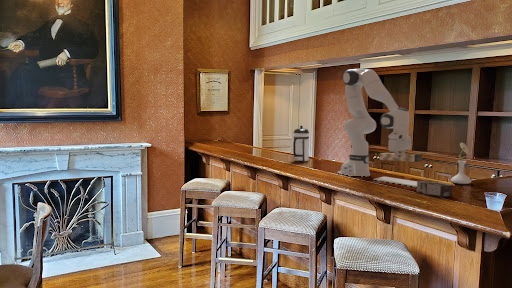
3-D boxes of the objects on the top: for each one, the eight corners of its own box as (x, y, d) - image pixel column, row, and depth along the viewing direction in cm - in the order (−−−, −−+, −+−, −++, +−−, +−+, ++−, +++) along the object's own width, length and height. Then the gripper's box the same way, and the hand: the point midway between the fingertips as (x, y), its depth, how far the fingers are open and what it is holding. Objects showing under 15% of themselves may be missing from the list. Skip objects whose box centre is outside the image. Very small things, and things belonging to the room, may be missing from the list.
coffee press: (289, 160, 349) (289, 125, 346) (307, 159, 351) (308, 124, 347) (293, 163, 332) (293, 126, 329) (312, 163, 334) (313, 126, 330)
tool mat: (373, 180, 262) (373, 178, 262) (384, 177, 270) (384, 176, 270) (418, 187, 239) (418, 186, 239) (428, 184, 247) (428, 183, 247)
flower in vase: (472, 186, 243) (474, 144, 241) (451, 184, 247) (453, 143, 244) (469, 181, 256) (471, 141, 253) (449, 180, 259) (451, 141, 257)
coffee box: (416, 192, 229) (439, 198, 214) (416, 180, 228) (440, 186, 213) (428, 190, 232) (452, 196, 218) (429, 179, 232) (453, 184, 217)
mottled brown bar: (379, 159, 256) (379, 153, 256) (383, 159, 259) (383, 152, 259) (418, 161, 236) (418, 154, 236) (422, 161, 238) (422, 154, 238)
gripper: (405, 133, 255) (404, 155, 257) (386, 135, 242) (385, 158, 243) (414, 134, 250) (413, 156, 252) (396, 136, 237) (395, 160, 239)
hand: (399, 157), depth 248 cm, fingers closed on mottled brown bar, 4 cm apart
